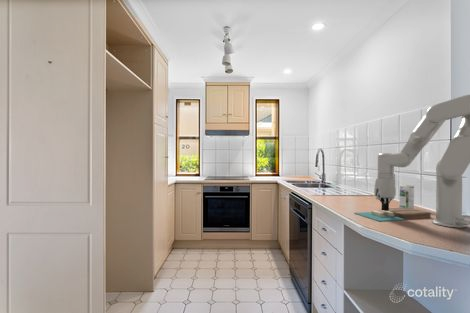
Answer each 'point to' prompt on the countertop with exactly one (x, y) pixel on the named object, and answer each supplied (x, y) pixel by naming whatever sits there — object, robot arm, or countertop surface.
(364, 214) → the teal mat
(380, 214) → the birch tile
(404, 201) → the syrup box
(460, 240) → the countertop surface
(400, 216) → the walnut deck
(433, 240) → the countertop surface
